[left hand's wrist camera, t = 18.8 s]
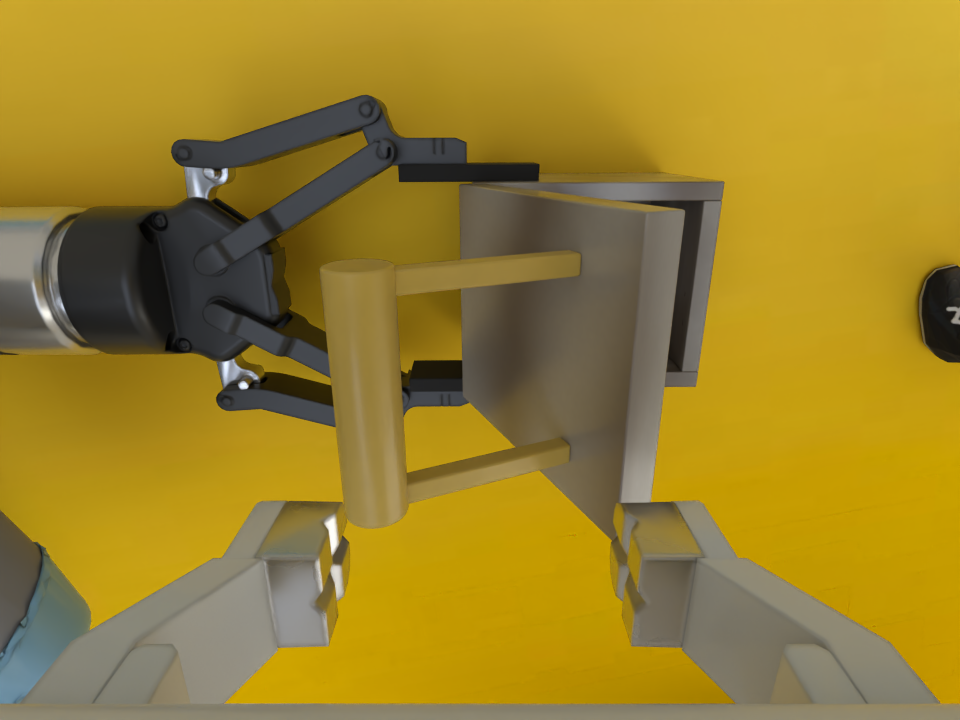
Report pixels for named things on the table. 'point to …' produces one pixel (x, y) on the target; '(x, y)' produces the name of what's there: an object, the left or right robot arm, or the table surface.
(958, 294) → the figurine
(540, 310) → the lid
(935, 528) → the table surface
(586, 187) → the chest
